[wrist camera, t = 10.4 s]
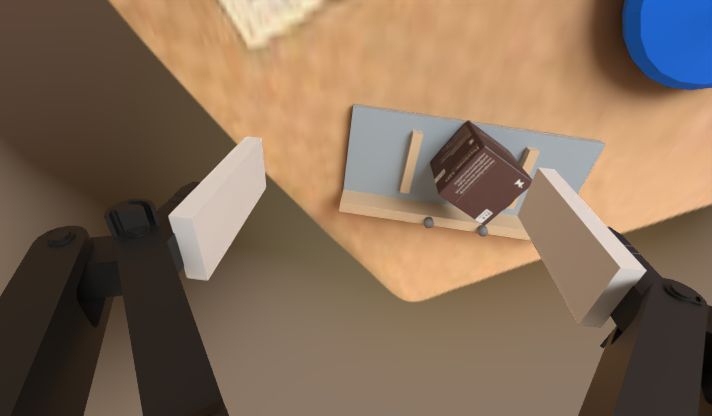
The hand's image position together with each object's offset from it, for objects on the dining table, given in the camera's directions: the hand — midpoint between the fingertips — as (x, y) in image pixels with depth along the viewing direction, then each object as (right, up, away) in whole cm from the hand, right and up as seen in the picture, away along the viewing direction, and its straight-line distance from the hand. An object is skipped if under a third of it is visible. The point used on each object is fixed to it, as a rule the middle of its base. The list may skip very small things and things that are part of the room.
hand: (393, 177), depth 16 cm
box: (+10, +4, +19) cm, 22 cm away
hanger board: (+10, +3, +21) cm, 24 cm away
